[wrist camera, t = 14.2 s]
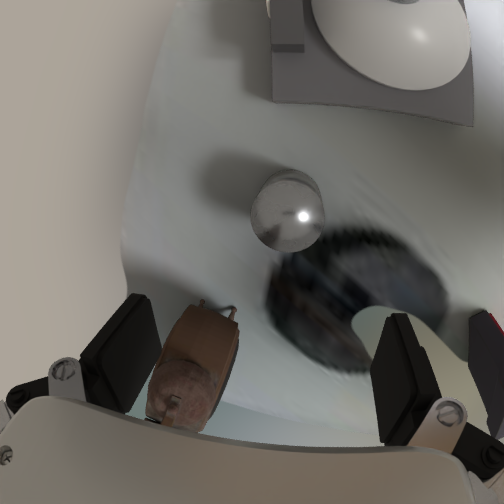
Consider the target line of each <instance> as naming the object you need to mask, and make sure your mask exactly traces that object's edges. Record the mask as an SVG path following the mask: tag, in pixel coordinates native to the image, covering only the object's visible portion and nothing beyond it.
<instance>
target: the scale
mask: <svg viewBox="0 0 504 504" xmlns="http://www.w3.org/2000/svg"><path fill="white" fill-rule="evenodd" d="M266 7H267V13H268V17H269V18H270V28H271V47H272V101H273V102H274V103H291V104H317V105H332V106H345V107H355V108H365V109H373V110H381V111H388V112H395V113H401V114H407V115H413V116H418V117H424V118H429V119H433V120H438V121H443V122H447V123H451V124H456V125H460V126H469V127H473V118H474V88H473V67H472V54H471V38H470V29H469V25H468V21H467V16H466V11H465V5H464V0H419V1H418V2H416V3H413V4H399V3H395V2H392V1H389V0H266Z"/></svg>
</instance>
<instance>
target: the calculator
mask: <svg viewBox="0 0 504 504" xmlns="http://www.w3.org/2000/svg"><path fill="white" fill-rule="evenodd" d="M468 367H469V370H470V372H471V374H472V377H473V379H474V381H475V383H476V386H477V388H478V391H479V393H480V396H481V398H482V401H483V403H484V405H485V408H486V411H487V414H488V418H487V425H488V428H489V431H490V434H491V436H492V437H493V438H495V439H497V440H498V439H500V438H502V437H504V332H503V330H502V329H501V327H500V326H499V324H498V323H497V321H496V320H495V318H494V317H493V316H492V314H491V313H488V312H487V311H484V312H481V313H479V314H477V315H475V316H473V317H471V318H470V319H469V358H468Z"/></svg>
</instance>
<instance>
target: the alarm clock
mask: <svg viewBox="0 0 504 504" xmlns="http://www.w3.org/2000/svg"><path fill="white" fill-rule="evenodd" d="M204 303H205V300H204V299H202V300H200V305H199V307H198V306H195V305H192V304H191V305H189V306H188V307H187V309H186V310H185V311H184V313H183V315H182V316H181V318H180V319H179V320H178V321H177V322H176V324H175V325H174V327H173V328H172V330H171V332H170V334H169V336H168V337H167V339H166V342H165V344H164V346H163V348H162V351H161V355H160V357H159V359H158V360H157V363H156V365H155V368H154V371H153V374H152V377H151V380H150V382H149V385H148V394H147V404H146V416H147V417H149V418H151V419H153V420H151V419H148V418H145V419H144V420H145V421H149V422H152V423H156V424H160V425H164V426H168V427H172V428H176V429H181V430H185V431H190V432H194V433H198V432H200V431H202V430H203V429H204V427H205V425H206V423H207V421H208V420H209V419H210V418H211V416H212V415H213V413H214V412H215V410H216V408H217V406H218V403H219V401H220V399H221V397H222V394H223V392H224V390H225V387H226V385H227V382H228V380H229V377H230V374H231V371H232V368H233V365H234V361H235V358H236V355H237V351H238V346H239V339H238V337H239V332H240V331H239V329H238V323H236V322H235V321H233V320H234V315H235V312H236V311H237V309H236V308H235V307H233V308H232V312H231V313H230V315H229V317H228V318H227V317H225V316H223V315H221V314H219V313H217V312H214V311H212V310H209V309H205V308H203V304H204ZM154 420H155V421H154ZM156 421H157V422H156Z"/></svg>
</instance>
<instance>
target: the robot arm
mask: <svg viewBox="0 0 504 504" xmlns="http://www.w3.org/2000/svg"><path fill="white" fill-rule="evenodd" d="M161 351H162V347H161V343H160V339H159V335H158V331H157V327H156V323H155V319H154V315H153V310H152V306H151V302H150V300H149V299H147V297H146V295H143V294H135V293H132V294H131V295H130V296H129V297H128V298H127V299H126V300H125V301H124V303H123V304H122V305H121V306H120V307H119V308H118V310H117V311H116V312H115V313H114V314H113V315H112V317H111V318H110V319H109V320H108V321H107V323H106V324H105V325H104V326H103V327H102V329H101V330H100V331H99V332H98V333H97V335H96V336H95V337H94V338H93V340H92V341H91V342H90V343H89V344H88V346H87V347H86V348H85V349H84V351H83V352H82V353H81V354H80V357H81V358H80V360H79V361H78V360H77V359H74V358H71V357H66V358H62V359H59V360H58V361H56V362H54V363H53V364H52V365H51V367H50V369H49V372H48V376H47V377H44V378H41V379H38V380H34V381H31V382H28V383H24V384H21V385H18V386H15V387H14V388H12V389H11V390H10V392H9V393H8V395H7V397H6V402H4V401H3V400H1V401H0V504H504V444H503V443H501V442H500V441H499V440H497V439H495V438H493V437H492V436H490V435H488V434H486V433H485V432H483V431H482V430H480V429H478V428H477V427H475V426H473V425H472V424H470V423H468V422H467V417H468V415H467V410H466V408H465V406H464V405H463V404H462V403H461V402H460V401H458V400H457V399H454V398H450V397H444V398H442V396H441V393H440V390H439V387H438V384H437V381H436V378H435V375H434V372H433V370H432V367H431V364H430V361H429V359H428V356H427V354H426V351H425V349H424V348H423V347H422V346H420V345H419V342H418V340H417V337H416V335H415V332H414V330H413V327H412V325H411V323H410V320H409V318H408V315H407V314H406V313H392V314H391V316H390V317H387V318H386V320H385V324H384V327H383V331H382V334H381V337H380V340H379V344H378V347H377V350H376V353H375V356H374V359H373V362H372V365H371V369H370V375H371V381H372V387H373V393H374V400H375V406H376V414H377V421H378V429H379V437H380V442H381V443H384V445H385V446H377V447H305V446H288V445H276V444H265V443H256V442H248V441H240V440H233V439H227V438H221V437H215V436H209V435H204V434H199V433H194V432H190V431H185V430H181V429H176V428H172V427H168V426H164V425H160V424H156V423H152V422H149V421H145V420H142V419H138V418H135V417H132V416H128V415H125V413H127V412H129V411H130V410H131V408H132V406H133V404H134V402H135V400H136V398H137V397H138V395H139V393H140V391H141V389H142V388H143V386H144V384H145V382H146V380H147V378H148V376H149V375H150V373H151V371H152V369H153V368H154V366H155V364H156V362H157V360H158V359H159V357H160V355H161Z"/></svg>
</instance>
